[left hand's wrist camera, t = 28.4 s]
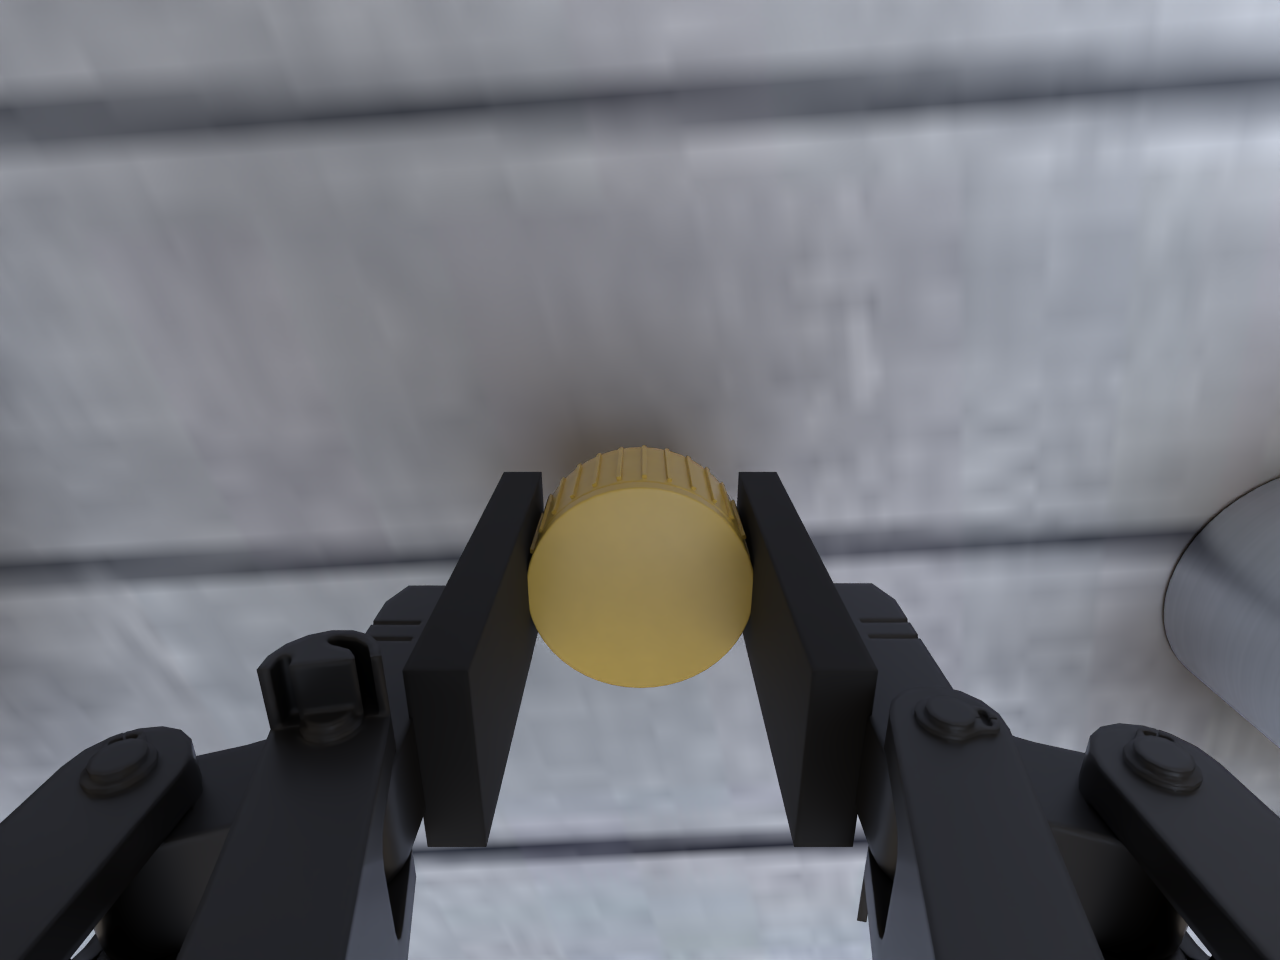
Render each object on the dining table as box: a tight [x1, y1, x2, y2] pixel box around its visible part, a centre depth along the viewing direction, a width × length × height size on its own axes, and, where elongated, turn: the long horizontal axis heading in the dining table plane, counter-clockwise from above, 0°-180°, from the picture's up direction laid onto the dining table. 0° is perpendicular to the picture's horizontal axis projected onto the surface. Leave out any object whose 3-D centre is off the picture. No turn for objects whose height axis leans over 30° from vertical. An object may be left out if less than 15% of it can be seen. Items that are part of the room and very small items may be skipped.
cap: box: [527, 445, 753, 688], centre depth 13 cm, size 4×4×2 cm
